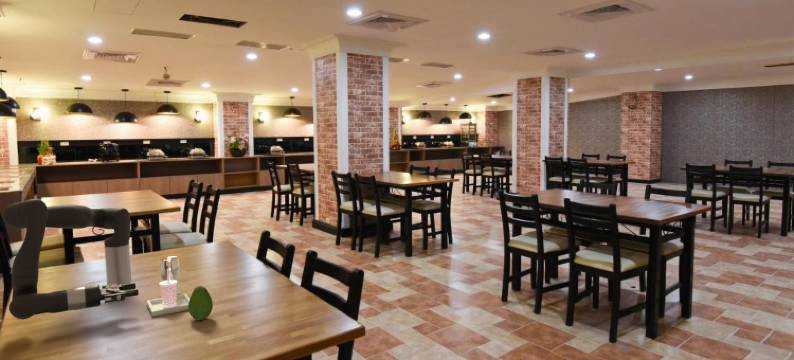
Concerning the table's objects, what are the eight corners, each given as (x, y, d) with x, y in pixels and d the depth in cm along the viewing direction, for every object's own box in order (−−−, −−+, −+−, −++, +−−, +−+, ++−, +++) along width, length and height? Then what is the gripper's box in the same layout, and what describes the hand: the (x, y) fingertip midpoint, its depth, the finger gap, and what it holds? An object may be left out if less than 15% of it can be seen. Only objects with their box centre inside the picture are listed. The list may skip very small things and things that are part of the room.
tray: (146, 305, 186) (146, 300, 186) (186, 298, 194) (185, 293, 194) (152, 317, 175) (151, 311, 175) (193, 309, 183) (193, 303, 182)
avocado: (198, 325, 167) (197, 290, 166) (184, 320, 171) (182, 287, 170) (218, 317, 174) (216, 284, 173) (204, 313, 178) (202, 281, 177)
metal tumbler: (173, 298, 194) (171, 261, 193) (158, 297, 196) (156, 260, 194) (184, 292, 201) (182, 256, 200) (169, 291, 203) (167, 255, 201)
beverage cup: (160, 309, 180) (158, 272, 179) (160, 304, 186) (158, 268, 184) (179, 306, 183) (177, 270, 182) (178, 301, 189) (176, 266, 187)
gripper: (83, 292, 162) (138, 283, 171) (82, 281, 174) (134, 274, 183) (85, 314, 163) (140, 304, 172) (83, 302, 175) (135, 293, 184)
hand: (136, 288), depth 178 cm, fingers open, 8 cm apart
